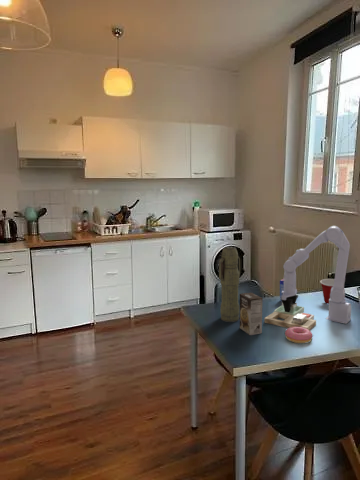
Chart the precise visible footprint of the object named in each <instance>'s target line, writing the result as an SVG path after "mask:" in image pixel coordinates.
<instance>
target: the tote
mask: <svg viewBox="0 0 360 480" xmlns="http://www.w3.org/2000/svg"><path fill="white" fill-rule="evenodd" d="M273 312H279V313H284V314H289V315H293V316H295V315H297V314H300V313H304V312H305V307H304V306H300V305H297V312H295V313H294V314H291V313H286V312H282V305H280V306H279V307H277V308H276V309H274V311H273Z"/></svg>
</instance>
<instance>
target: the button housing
mask: <svg viewBox="0 0 360 480" xmlns="http://www.w3.org/2000/svg"><path fill="white" fill-rule="evenodd" d="M302 313H303V312H302ZM302 313H300V314H302ZM307 319H312V320H315V315H314V314H311V316H310V317H309V318H307Z"/></svg>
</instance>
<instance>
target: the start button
mask: <svg viewBox="0 0 360 480" xmlns="http://www.w3.org/2000/svg"><path fill="white" fill-rule="evenodd" d="M302 314H303V315H307V318H309V317H310V316H311V315H312V314H311V313H306V312H302Z"/></svg>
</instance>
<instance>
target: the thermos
mask: <svg viewBox="0 0 360 480" xmlns="http://www.w3.org/2000/svg"><path fill="white" fill-rule="evenodd" d="M240 278H241V258H240V256H239V253H238V250H237V247H235V246H225V247H223V248H222V252H221V258H219V261H218V279H219V280H220V285H221V303H220V309H219V311H220V320H221V321H223V322H226V323H235V322H238V321H240V303H239V284H240Z"/></svg>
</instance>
